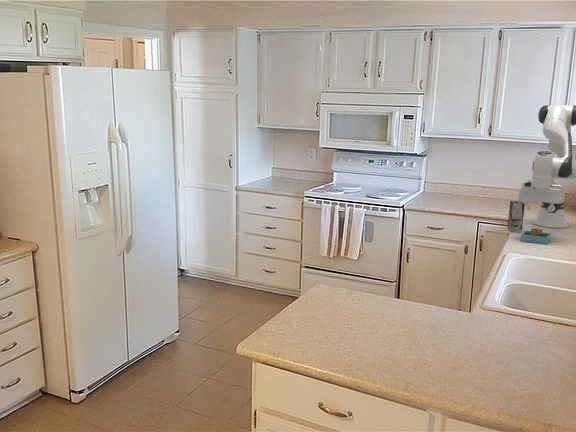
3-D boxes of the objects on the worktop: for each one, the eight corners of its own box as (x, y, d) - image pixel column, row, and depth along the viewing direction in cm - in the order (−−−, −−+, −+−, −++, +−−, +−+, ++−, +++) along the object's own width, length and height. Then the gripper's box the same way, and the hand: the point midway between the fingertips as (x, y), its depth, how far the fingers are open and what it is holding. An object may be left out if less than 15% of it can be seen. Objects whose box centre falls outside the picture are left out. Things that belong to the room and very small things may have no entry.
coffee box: (522, 232, 312) (525, 203, 309) (509, 231, 313) (512, 202, 310) (519, 229, 321) (521, 201, 318) (507, 228, 322) (509, 200, 319)
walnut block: (530, 237, 295) (531, 228, 294) (541, 238, 292) (542, 229, 292) (529, 239, 291) (530, 229, 290) (540, 240, 288) (541, 231, 287)
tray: (523, 237, 300) (524, 230, 299) (549, 240, 294) (550, 233, 293) (520, 241, 289) (521, 234, 289) (547, 244, 283) (548, 237, 283)
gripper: (564, 184, 284) (561, 211, 287) (520, 181, 294) (518, 207, 297) (563, 186, 279) (560, 213, 281) (519, 182, 289) (516, 209, 291)
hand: (538, 210), depth 289 cm, fingers open, 8 cm apart
